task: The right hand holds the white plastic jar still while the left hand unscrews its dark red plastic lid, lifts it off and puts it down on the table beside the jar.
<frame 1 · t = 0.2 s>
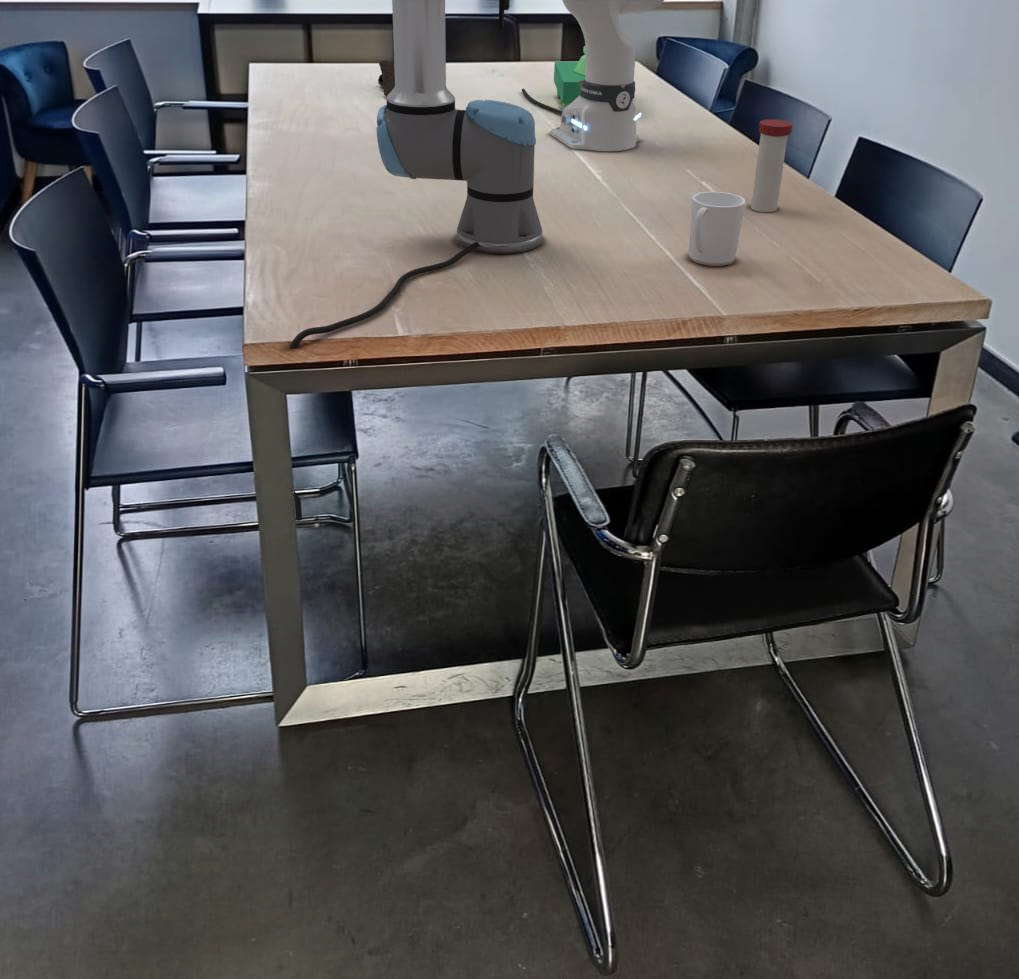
left hand: (468, 26, 224), 28 cm above the table, tool pointing down, fingers open, 13 cm apart
mug: (708, 260, 189), on the table
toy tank: (589, 103, 292), on the table
lid: (775, 124, 207), point 16 cm above the table, screwed on, not yet turned
jar: (763, 208, 215), on the table
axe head: (403, 91, 300), on the table
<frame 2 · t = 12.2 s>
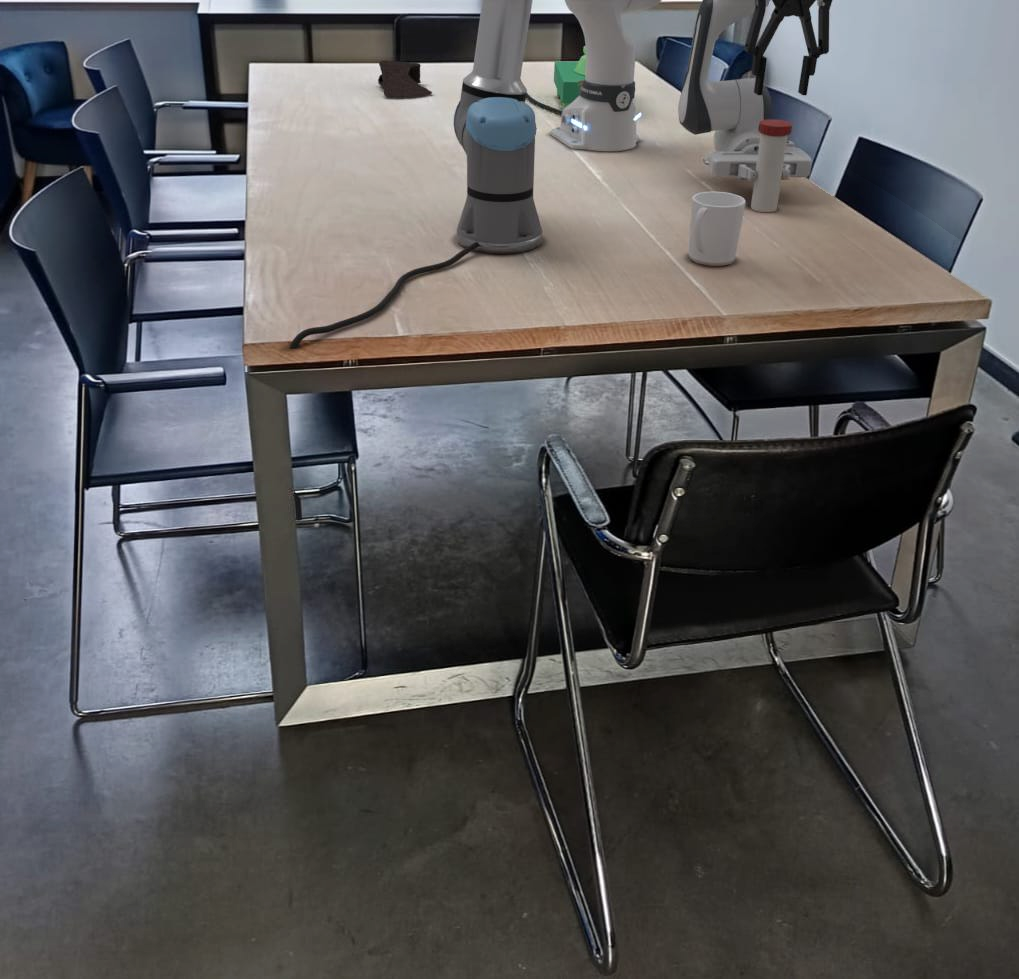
left hand: (780, 93, 204), 22 cm above the table, tool pointing down, fingers open, 8 cm apart
right hand: (770, 175, 211), 7 cm above the table, tool horizontal, fingers closed on jar, 5 cm apart
jar: (763, 208, 215), on the table, touching right hand
everything else where it was.
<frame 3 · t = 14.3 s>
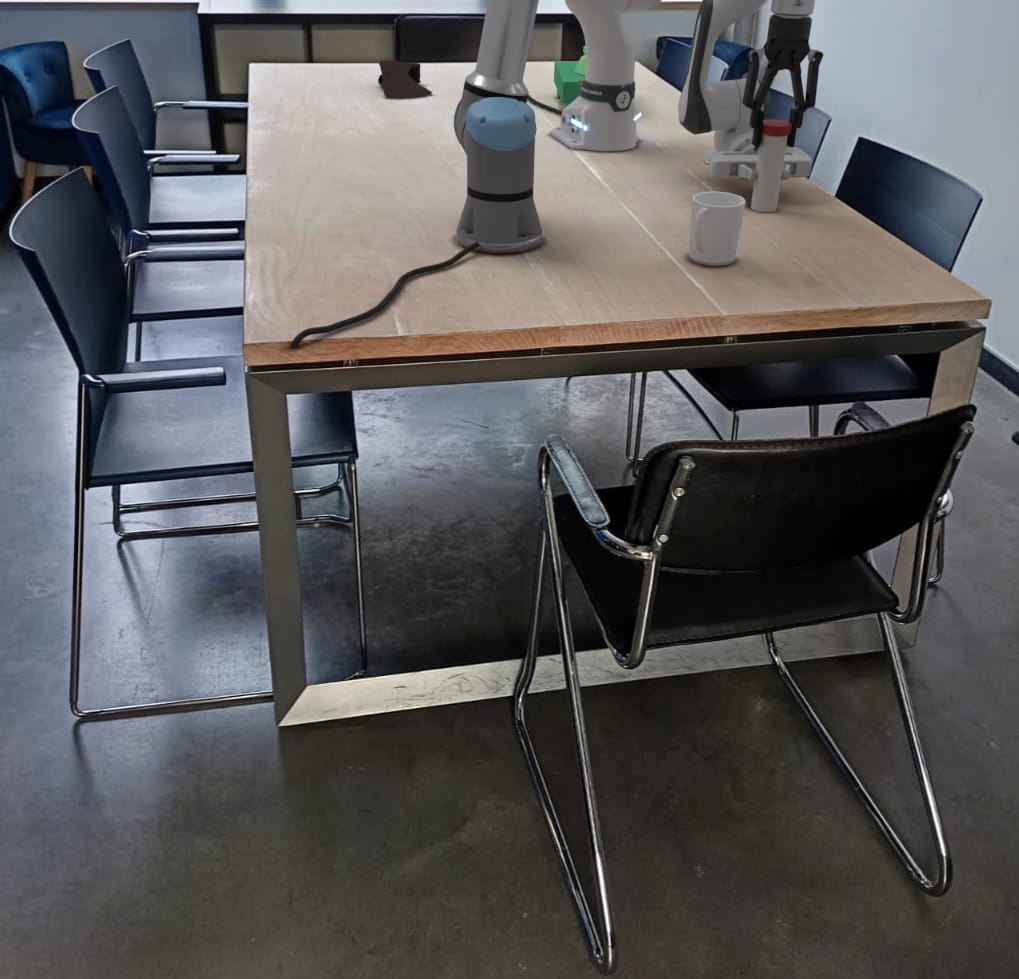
left hand: (772, 145, 209), 12 cm above the table, tool pointing down, fingers closed on lid, 6 cm apart
right hand: (770, 175, 211), 7 cm above the table, tool horizontal, fingers closed on jar, 5 cm apart
lid: (775, 124, 207), point 16 cm above the table, screwed on, not yet turned, touching left hand
jar: (763, 208, 215), on the table, touching right hand
everything else where it was.
when the left hand's fingers open (12 cm above the table, at t = 15.7 s): lid stays where it is, point 16 cm above the table.
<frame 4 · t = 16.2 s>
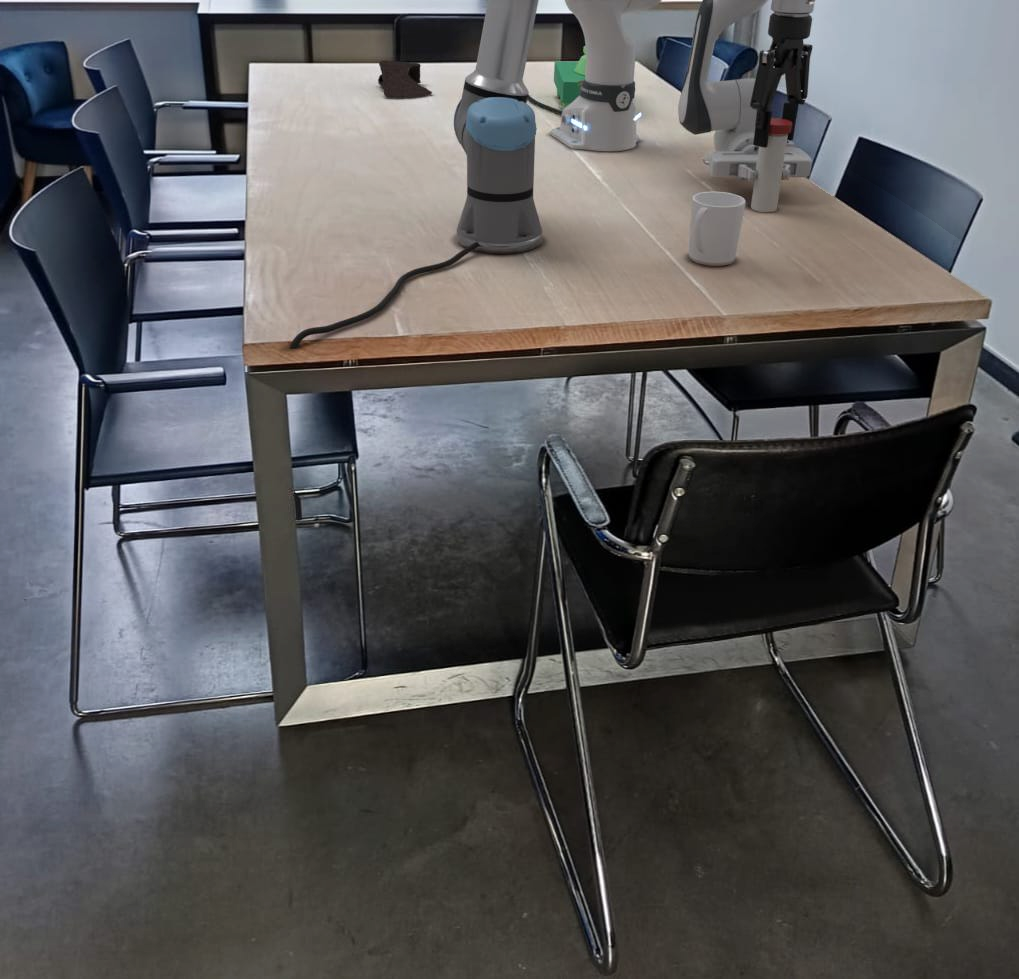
left hand: (773, 142, 209), 13 cm above the table, tool pointing down, fingers open, 8 cm apart
right hand: (770, 175, 211), 7 cm above the table, tool horizontal, fingers closed on jar, 5 cm apart
lid: (775, 123, 207), point 16 cm above the table, turned 83° so far, risen 0.3 cm, still on its thread
jar: (763, 208, 215), on the table, touching right hand
everything else where it was.
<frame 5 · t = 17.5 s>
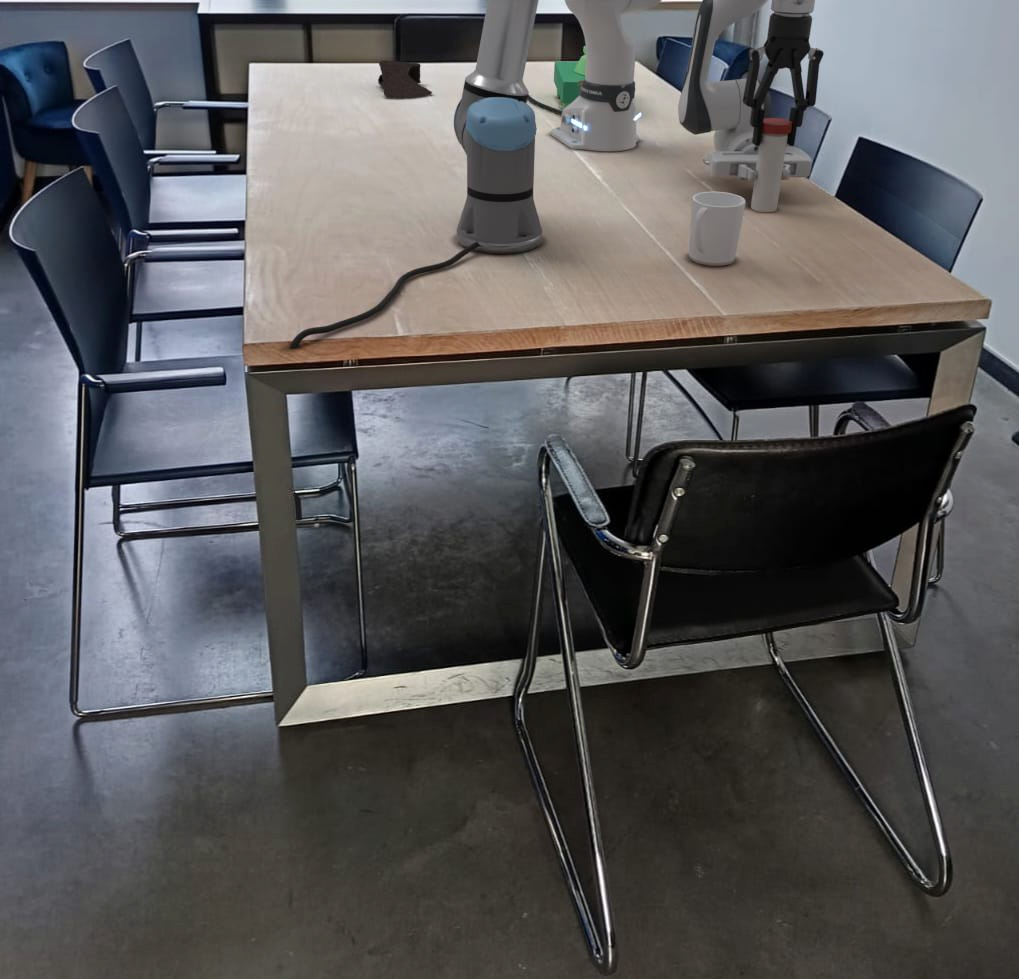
left hand: (772, 143, 209), 12 cm above the table, tool pointing down, fingers closed on lid, 6 cm apart
right hand: (770, 175, 211), 7 cm above the table, tool horizontal, fingers closed on jar, 5 cm apart
lid: (775, 123, 207), point 16 cm above the table, turned 83° so far, risen 0.3 cm, still on its thread, touching left hand
jar: (763, 208, 215), on the table, touching right hand
everything else where it was.
when the left hand's fingers open (0 cm above the table, at t = 25.5 s): lid drops 3 cm, point 1 cm above the table.
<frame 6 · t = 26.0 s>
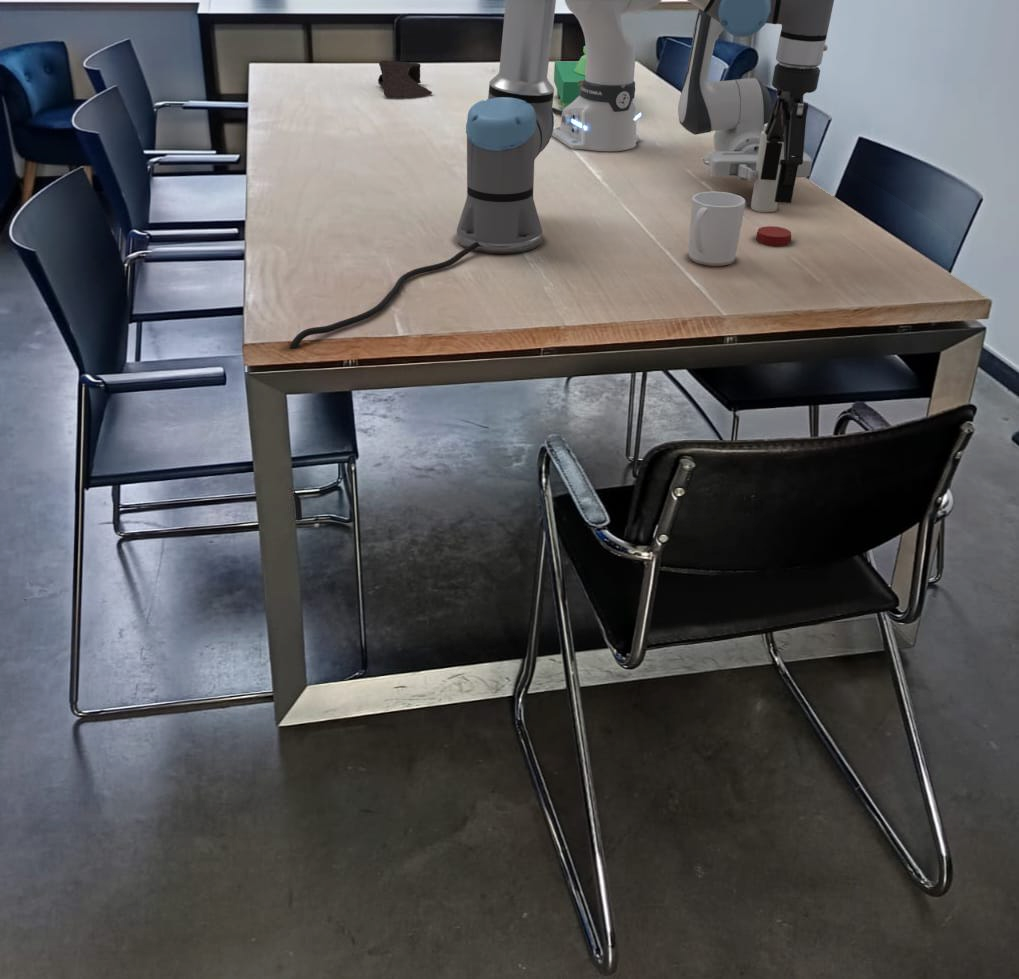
left hand: (775, 190, 194), 9 cm above the table, tool pointing down, fingers open, 13 cm apart
right hand: (770, 175, 211), 7 cm above the table, tool horizontal, fingers closed on jar, 5 cm apart
lid: (774, 233, 198), point 1 cm above the table, off its thread
jar: (763, 208, 215), on the table, touching right hand
everything else where it was.
when the right hand's fingers open (7 cm above the table, at t = 26.2 s): jar stays where it is, on the table.
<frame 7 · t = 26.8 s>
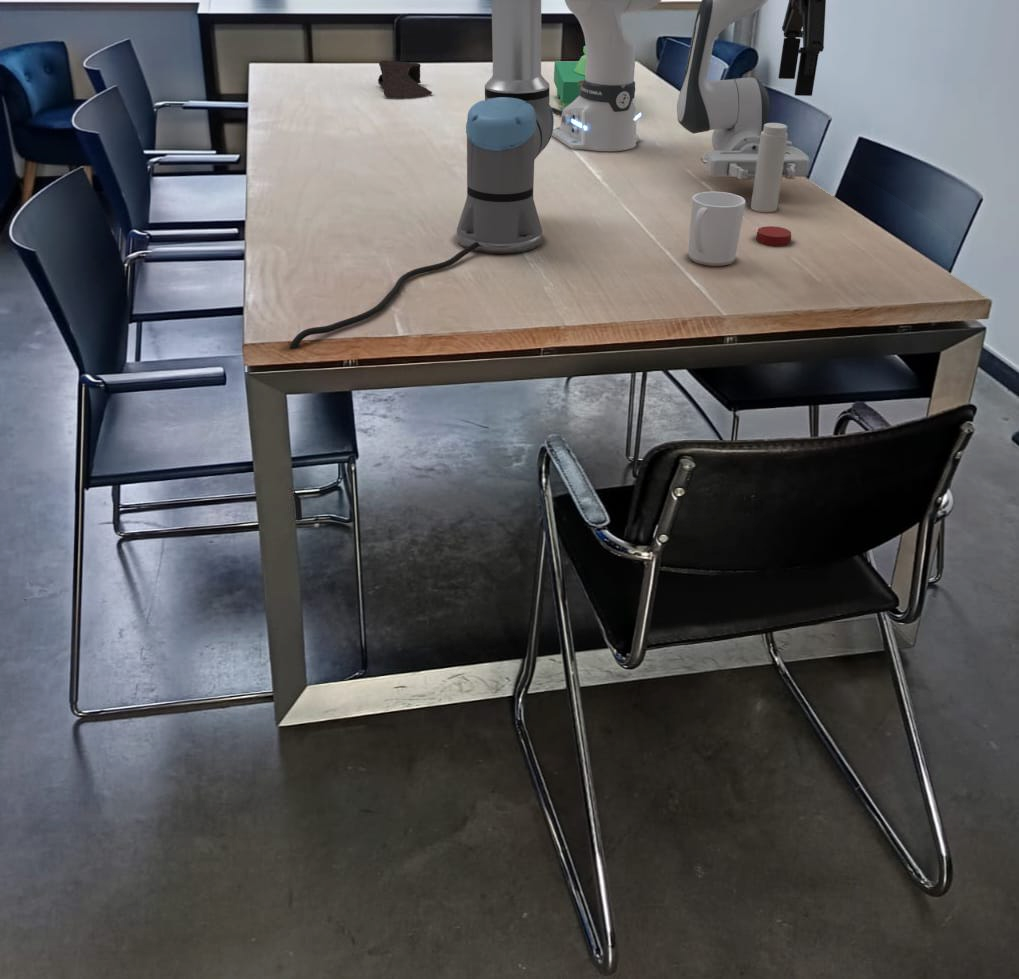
left hand: (794, 86, 185), 27 cm above the table, tool pointing down, fingers open, 13 cm apart
right hand: (767, 175, 212), 7 cm above the table, tool horizontal, fingers open, 8 cm apart
jar: (763, 208, 215), on the table
everything else where it was.
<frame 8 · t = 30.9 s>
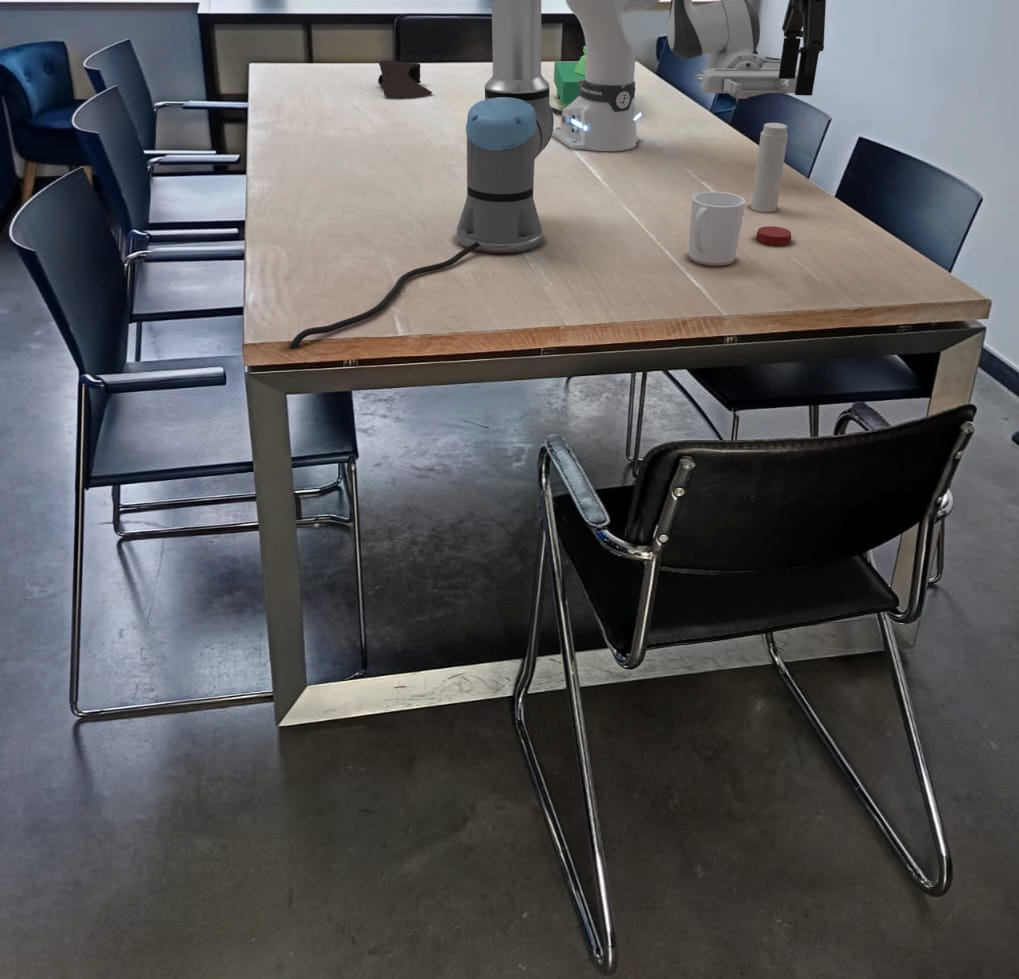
left hand: (794, 86, 185), 27 cm above the table, tool pointing down, fingers open, 13 cm apart
right hand: (761, 89, 214), 20 cm above the table, tool horizontal, fingers open, 8 cm apart
nothing on the table moved.
at the end: lid came off its thread; lid point 1.3 cm above the table; the left hand is holding nothing; the right hand is holding nothing; jar tilted 0°; jar moved 0.0 cm from its start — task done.
